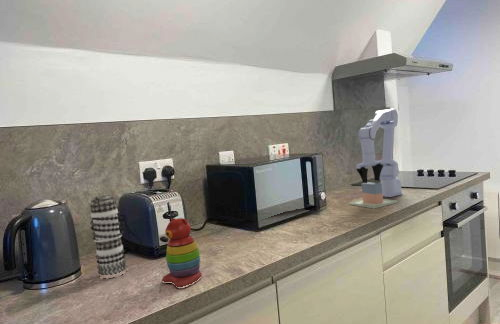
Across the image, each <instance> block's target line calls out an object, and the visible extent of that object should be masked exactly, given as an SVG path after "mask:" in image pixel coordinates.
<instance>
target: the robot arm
mask: <svg viewBox="0 0 500 324" xmlns="http://www.w3.org/2000/svg"><path fill="white" fill-rule="evenodd" d="M398 120H399V114H398V111H397V109H396V108H394V107H393V108H388V109H381V110H376V111H375V113H374V118H373V119H369V120H368V122H367V123H366V124H365V125H364V126H363V127H360V129H358V132H357V137H358V139H359V143H360V146H361V157H362V161H361V162H360V163H358V164H357V163H356V165H355V167H356V172H357V173H358V174H359V176H360V178H361V181H362V183H367V182H368V171H369V168H370V167H371V169H372V171H373V172H372V173H373V177H374V181H379V182H380V183H382V192H383V198H384V197H386V198H391V197H392V198H393V197H396V196H401V195H404V193H403V191H402V182H401V179H400V178H399V177H398V176H399V174H400V169H399V164H398V162H397V161H396V160H395V159H394V141H395V138H394V137H395V128H396V127H397V126H398ZM380 128H381V129H383V144H382V145H383V146H382V158H381V159H380V160H376V152H375V151H376V150H375V140H374V139H376V134H377V132H378V130H379V129H380ZM368 167H369V168H368Z"/></svg>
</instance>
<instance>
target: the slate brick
mask: <svg viewBox="0 0 500 324" xmlns="http://www.w3.org/2000/svg"><path fill="white" fill-rule="evenodd" d="M360 185H361V193H369V194H380V193H383V192H382V183H381V182H370V181H367V183H363V182H361V184H360Z"/></svg>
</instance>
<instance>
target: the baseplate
mask: <svg viewBox="0 0 500 324" xmlns="http://www.w3.org/2000/svg"><path fill="white" fill-rule="evenodd" d="M398 203H399V201H398V200H396V199H389V198H383V203H379V204H373V203H367V202H363V199H360V200H359V199H358V200H355V201H351V202H349V204H348V205H349V206H350V205H351V206H357V207H363V208H369V209H377V208H381V207H385V206H389V205H393V204H398Z"/></svg>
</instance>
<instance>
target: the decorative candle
mask: <svg viewBox="0 0 500 324" xmlns="http://www.w3.org/2000/svg"><path fill="white" fill-rule="evenodd" d="M88 205H89V206H90V211H91V212H90V217H91V220H90V222H89V224H90V225H91V226H90V229H91V231H93V232H92V233H91V235H92V237H93V238H92V240H93V242H94V243H95V246H96V249H95V252H96V255H95V258H96V263H97V266H96V267H97V269H98V270H97V273H98V275H100V274H101V275H112V274H117V273H120V272H122V271H124V270H125V269H127V267H128V265H127V264H126V263H127V260H126V259H125V257H126V255H125V254H124V253H125V251H126V250H124V245H123V241H122V237H123V233H122V232H120V231H121V230H122V229H123V227H122V226H121V225H122V222H121V221H119V220H120V219H121V218H122V216H121V215H120V213H121V211H118V208H117V207H118V206H117V199H116V198H114V197H113V196H112V195H111V194H106V195H99V196H95V197H93V198H92V199H91V201H90V202H89V203H88Z"/></svg>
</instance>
